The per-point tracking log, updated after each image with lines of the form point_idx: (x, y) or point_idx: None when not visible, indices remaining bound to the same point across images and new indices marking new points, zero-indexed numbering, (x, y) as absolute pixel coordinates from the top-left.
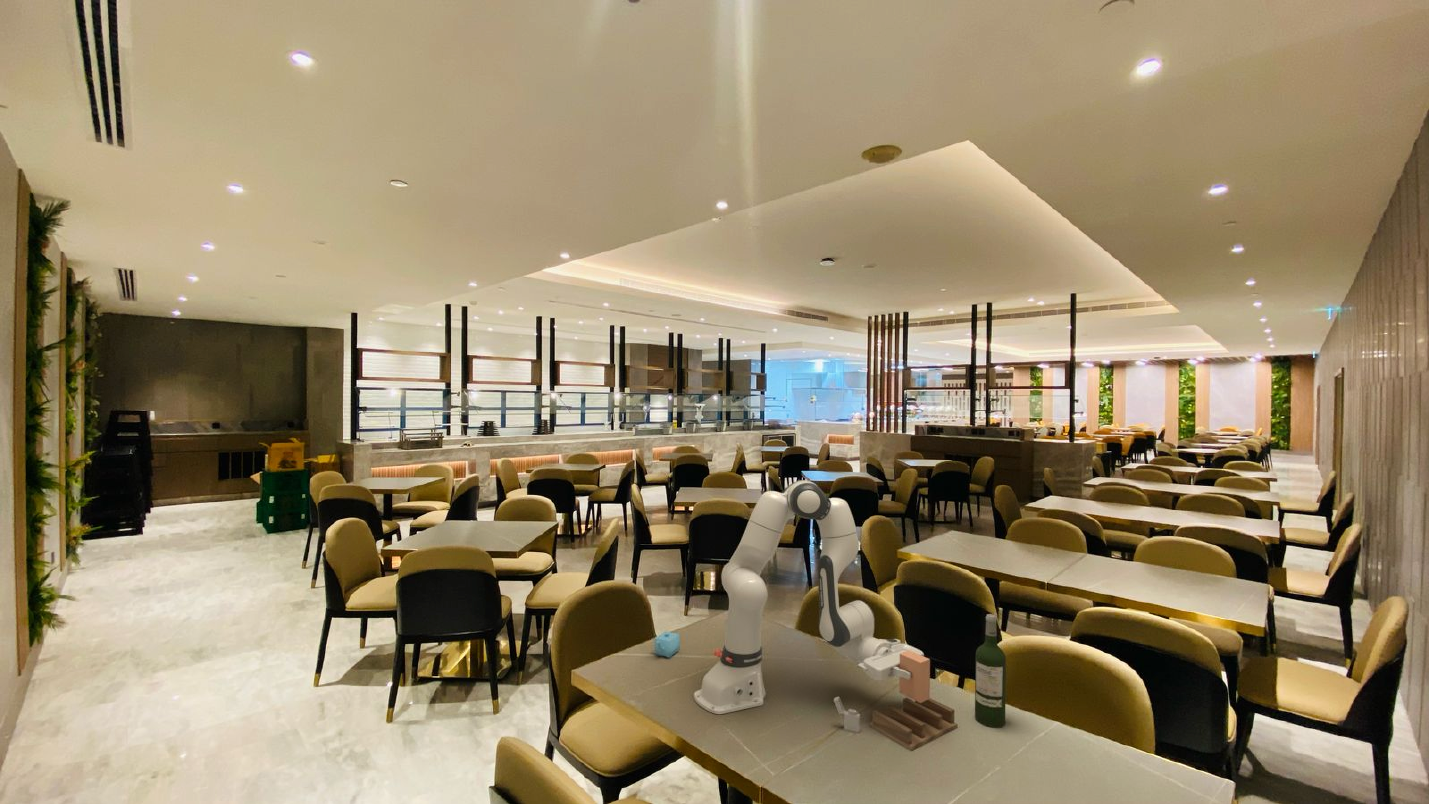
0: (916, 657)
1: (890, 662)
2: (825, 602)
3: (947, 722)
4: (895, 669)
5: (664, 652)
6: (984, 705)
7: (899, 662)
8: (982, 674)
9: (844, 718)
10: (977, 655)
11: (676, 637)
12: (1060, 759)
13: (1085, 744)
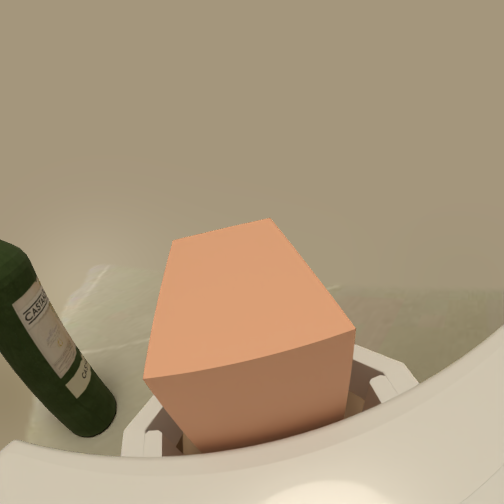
0: (230, 257)
1: (436, 420)
2: None
3: (184, 441)
4: (407, 372)
5: None
6: (91, 376)
7: (333, 426)
8: (45, 314)
9: None
10: (5, 282)
11: None
12: (133, 312)
13: (78, 321)
